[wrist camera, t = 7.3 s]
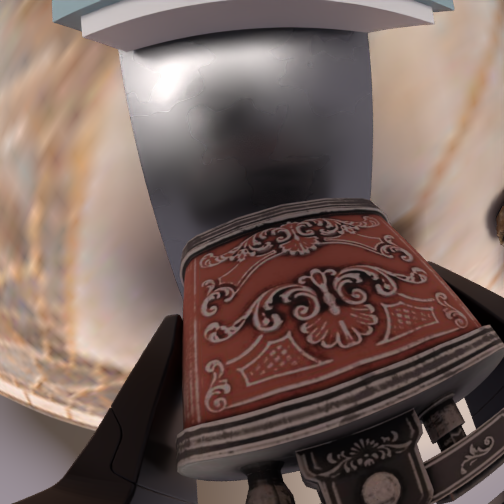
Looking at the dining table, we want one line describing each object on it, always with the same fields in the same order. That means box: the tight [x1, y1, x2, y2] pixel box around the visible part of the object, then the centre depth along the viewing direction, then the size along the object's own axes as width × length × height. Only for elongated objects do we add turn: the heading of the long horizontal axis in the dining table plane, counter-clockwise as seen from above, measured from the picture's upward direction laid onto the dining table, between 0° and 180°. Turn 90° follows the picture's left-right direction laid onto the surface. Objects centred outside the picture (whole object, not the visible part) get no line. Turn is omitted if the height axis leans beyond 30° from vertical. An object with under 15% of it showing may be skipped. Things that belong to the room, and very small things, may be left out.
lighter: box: [176, 198, 504, 504], centre depth 7 cm, size 8×3×10 cm, turn 101°
